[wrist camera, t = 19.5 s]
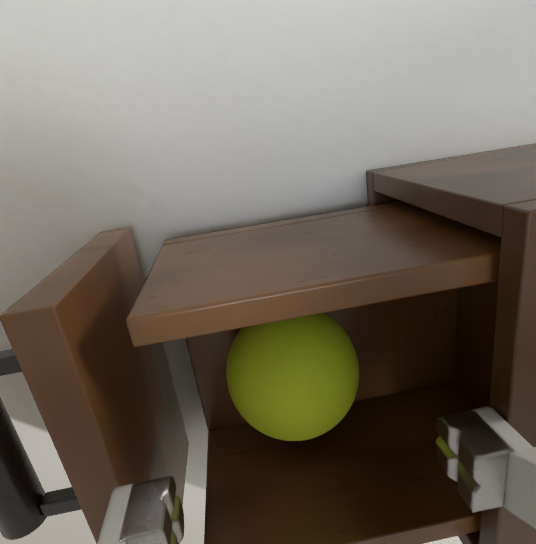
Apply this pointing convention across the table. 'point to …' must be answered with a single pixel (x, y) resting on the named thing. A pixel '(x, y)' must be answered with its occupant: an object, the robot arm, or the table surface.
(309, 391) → the tennis ball
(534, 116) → the table surface
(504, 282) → the cabinet
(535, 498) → the robot arm
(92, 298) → the drawer
